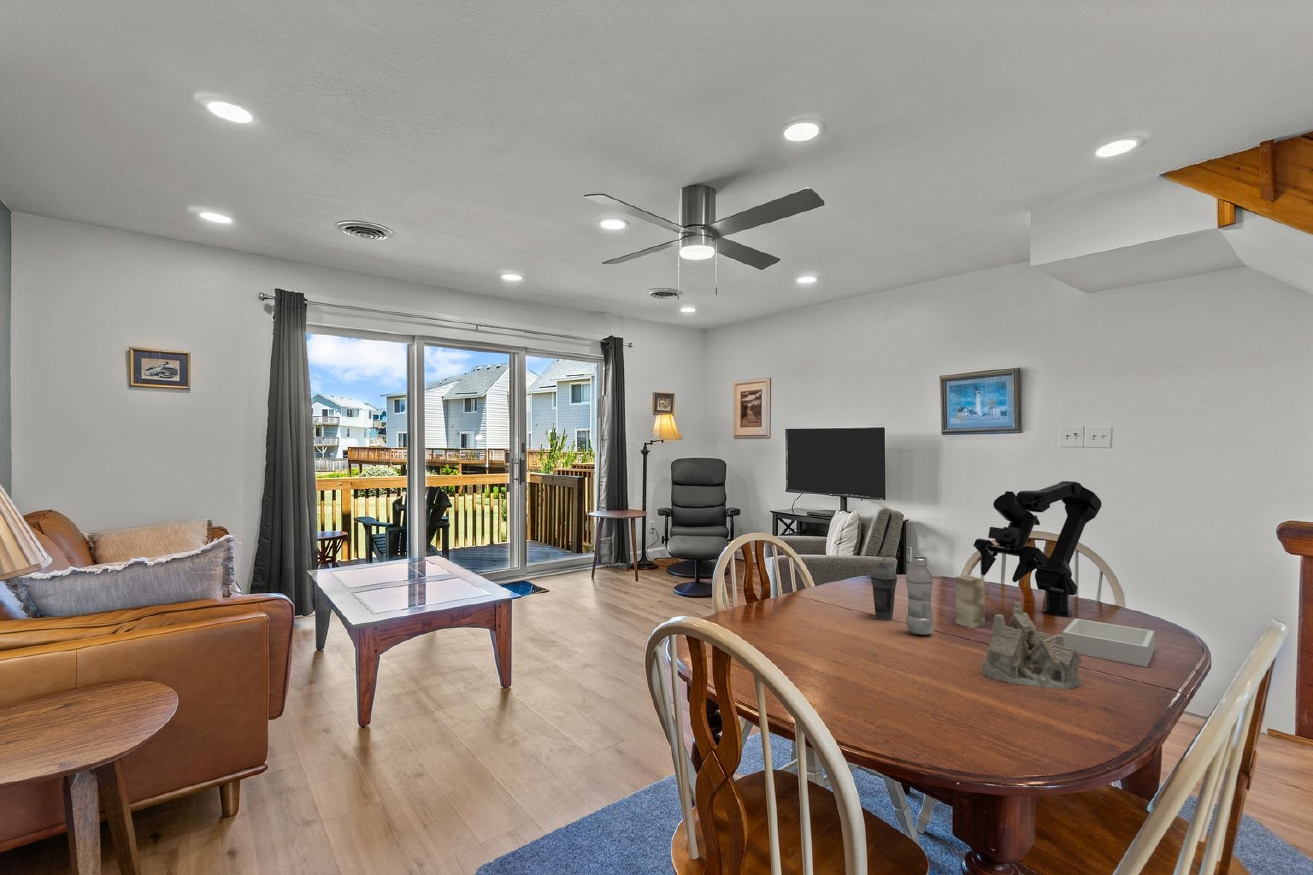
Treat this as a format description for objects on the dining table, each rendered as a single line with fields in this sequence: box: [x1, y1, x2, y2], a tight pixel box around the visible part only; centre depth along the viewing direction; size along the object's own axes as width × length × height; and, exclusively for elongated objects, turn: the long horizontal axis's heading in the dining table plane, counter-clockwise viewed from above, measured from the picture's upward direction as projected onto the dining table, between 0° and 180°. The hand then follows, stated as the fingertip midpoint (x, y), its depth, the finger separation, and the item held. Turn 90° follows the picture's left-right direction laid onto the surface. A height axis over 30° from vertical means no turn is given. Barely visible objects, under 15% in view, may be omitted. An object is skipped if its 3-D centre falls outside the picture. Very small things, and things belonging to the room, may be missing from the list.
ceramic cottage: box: [980, 601, 1082, 690], centre depth 131 cm, size 16×16×15 cm
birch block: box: [955, 574, 986, 629], centre depth 169 cm, size 5×5×13 cm
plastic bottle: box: [905, 556, 935, 636], centre depth 161 cm, size 6×7×20 cm
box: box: [1062, 618, 1155, 668], centre depth 148 cm, size 16×16×4 cm
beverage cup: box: [870, 548, 898, 621], centre depth 176 cm, size 7×7×20 cm
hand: (997, 578), depth 169 cm, fingers open, 9 cm apart
